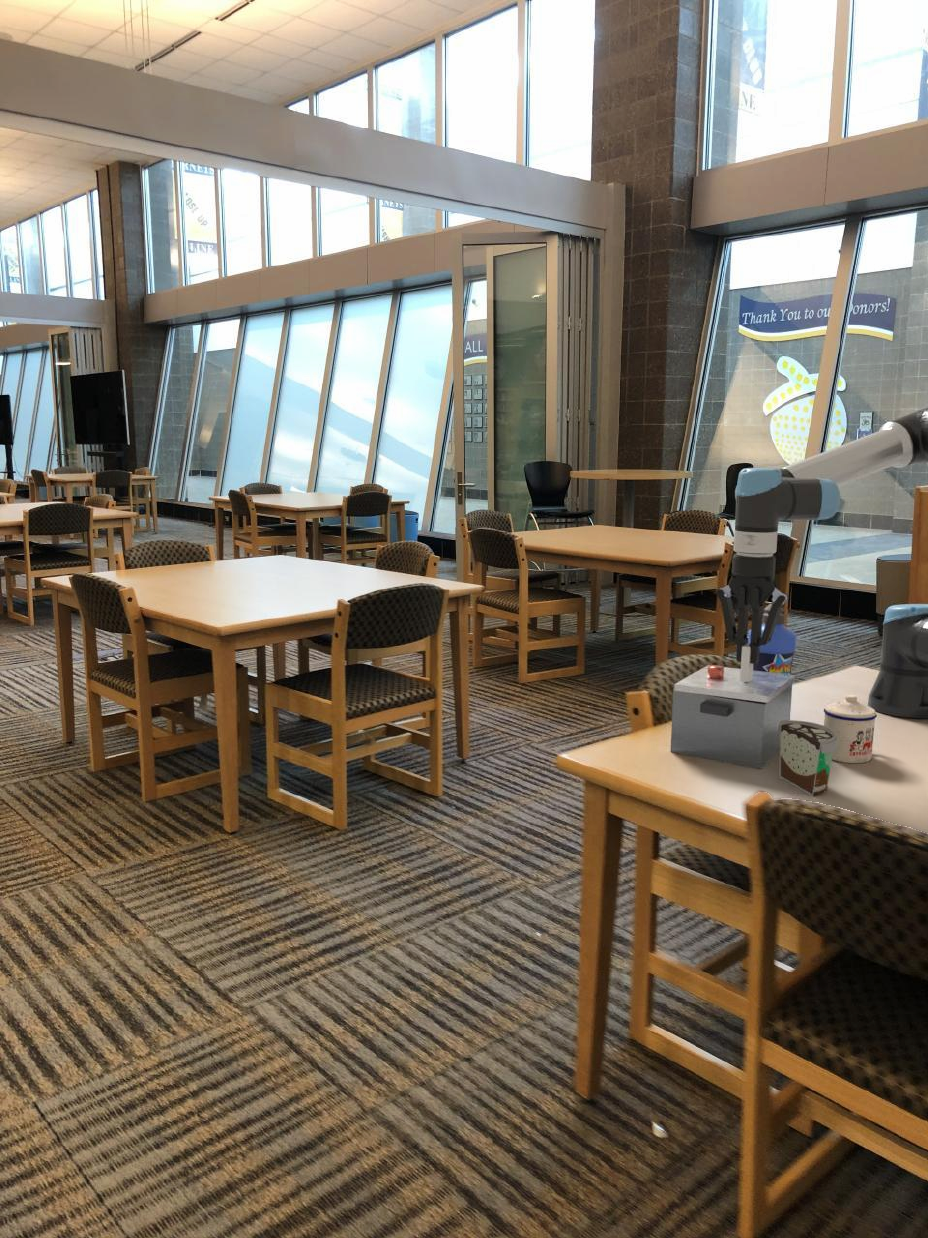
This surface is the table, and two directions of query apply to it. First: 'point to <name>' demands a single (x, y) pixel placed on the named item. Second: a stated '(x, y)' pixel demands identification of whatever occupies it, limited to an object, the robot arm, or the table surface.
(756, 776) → the table surface
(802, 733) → the food container
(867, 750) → the teacup with lid
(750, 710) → the grey storage box
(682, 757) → the table surface
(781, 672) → the water bottle
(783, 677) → the grey box lid
